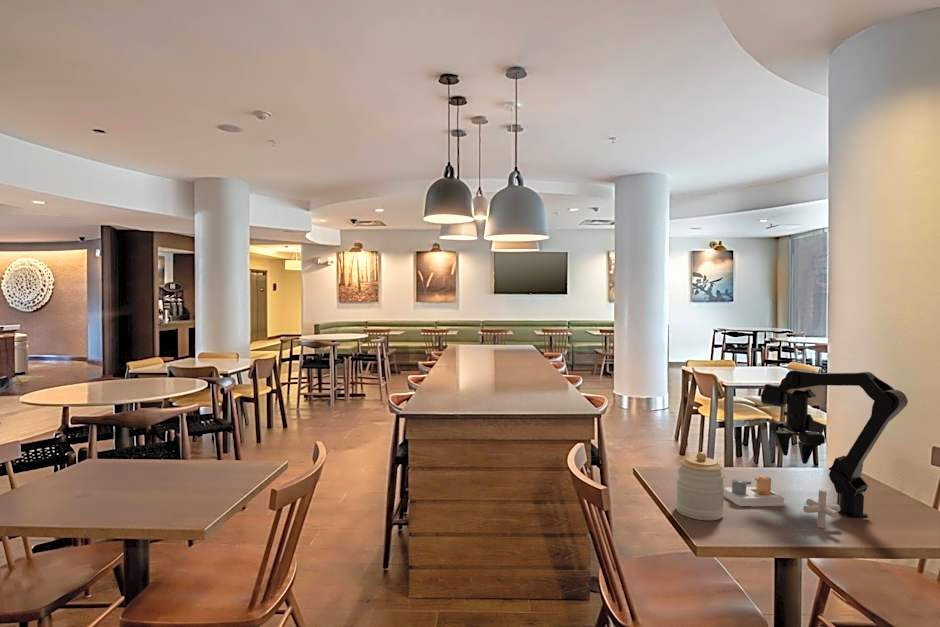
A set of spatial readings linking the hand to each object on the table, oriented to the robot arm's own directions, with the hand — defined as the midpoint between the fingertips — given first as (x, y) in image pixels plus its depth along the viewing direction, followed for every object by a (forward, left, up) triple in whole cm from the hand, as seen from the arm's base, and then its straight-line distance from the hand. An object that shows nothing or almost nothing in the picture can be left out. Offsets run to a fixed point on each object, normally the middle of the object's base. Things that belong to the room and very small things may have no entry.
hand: (794, 459), depth 188 cm
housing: (-2, +15, -12) cm, 19 cm away
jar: (-11, +37, -12) cm, 41 cm away
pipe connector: (-23, +8, -12) cm, 27 cm away
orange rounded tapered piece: (-2, +11, -11) cm, 16 cm away
